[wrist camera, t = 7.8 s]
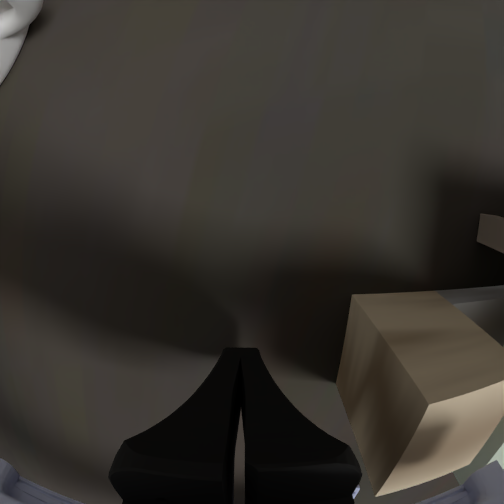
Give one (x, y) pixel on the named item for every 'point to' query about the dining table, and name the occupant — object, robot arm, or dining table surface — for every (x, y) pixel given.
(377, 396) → the beige piece
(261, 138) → the dining table surface
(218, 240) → the dining table surface
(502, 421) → the green top stand
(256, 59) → the dining table surface
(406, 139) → the dining table surface
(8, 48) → the mug
